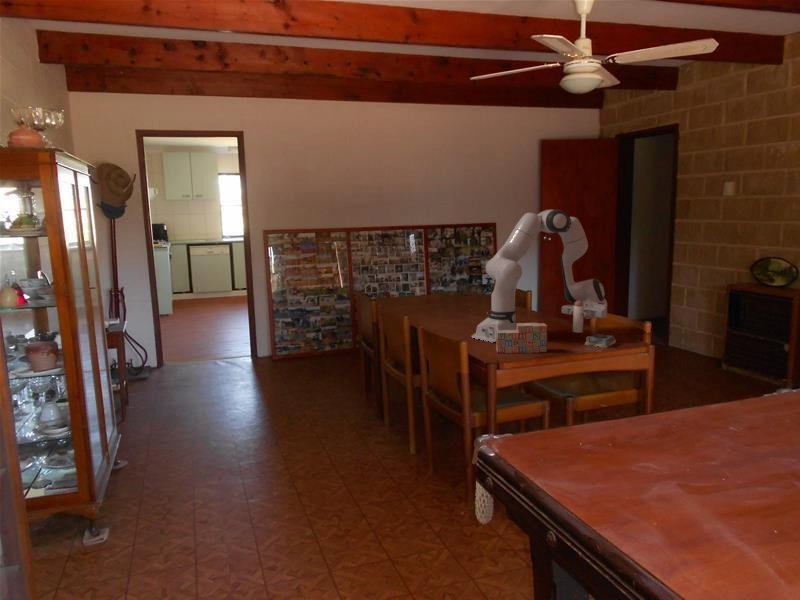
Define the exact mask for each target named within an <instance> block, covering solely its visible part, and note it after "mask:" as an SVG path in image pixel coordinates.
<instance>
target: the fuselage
mask: <svg viewBox="0 0 800 600" xmlns="http://www.w3.org/2000/svg"><path fill="white" fill-rule="evenodd" d="M582 302H583V301H576V302H575V304H573V305H574V312H573V317H572V332H573V333H583V331H584V318H583V316H582V313H583V312H584V306H583V303H582Z"/></svg>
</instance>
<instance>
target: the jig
mask: <svg viewBox="0 0 800 600" xmlns="http://www.w3.org/2000/svg"><path fill="white" fill-rule="evenodd" d="M585 340H586V341H585V342H584V345H585V346H589V345H593V346H592V347H597V346H599V347H598V348H604V349H605V348H606V349H607V348H609V347H611V346H613V345H614V344H616V343H617V340H616V339H615V336H614V335H607V334H601V333H600V334H599V333H595V334H593V335H591V336H586V339H585Z"/></svg>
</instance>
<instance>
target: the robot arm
mask: <svg viewBox="0 0 800 600" xmlns="http://www.w3.org/2000/svg"><path fill="white" fill-rule="evenodd" d="M540 232H541V233H548V234H554V233H556V234H558V235H559V236H560V238H561V242H562V246H563V252H562V253H561V255H560V267H561V274H562V280H563V287H564V289H563V291H564V297H565V299H566V300H567V302H568V303H571V304H565V305H562V306H561V313H562V314H565V315H571V316H572V315H573V312H574V304H575V302H576V301H582V303H583V306H584V312H583V313H582V316H583V319H587V320H590V319H607V314H608V301H607V300H606V290H605V287H604V284H603V283H602V282H601V281H600V280H599V279H598V278H590V279H586V280H581V281H578V282H575V280H574V275H573V267H572V266H573V264H574V262H576V261H577V260H578V259H580V258H581V257H583V256H584V255H585V254H586V252H587V250H588V249H589V248H588V247H589V243H588V238H587V236H586V232H585V230H584V228H583V226H582V224H581V222H580V220H579V219H578V218H577V217H575V216H569V215H568V214H567V213H566V212H565V211H563V210H561V209H552V208H551V209H545V210H541V211H539V212H538V213H534V212H526V213H524V215H522V217H521V218H519V221H518V222H517V223H516V224H515V226H514V228H513V230H511V232H510V235H509V237H508V238H507V240H506V241H505V243H504V244H503V245H502V246H501V248H500V249H499V250H498V251H497V252H496V254H495V255H493V257H492V258H491V259H489V260H488V261H487V262H486V264H485V271H486V274H487V275H488V276H489V278H491V279H492V280H495V284H494V289H493V291H492V293H491V304H490V305H491V309H490V310H488V311H487V312H486V315H487V317H486V318H485V319H484V320H482V321H481V322H480V323H478V325H477V326H476V329H475V330H476V331H475V333H473V334H472V335H471V337H472V338H471V339H473V338H475V339H474V340H478V339H480V340H479V341H483V340H484V342H488V341H489V342H488V343H493V342H496V330H516V326H517V325H516V321H517V319H516V318H517V314H516V313H517V312H516V292H517V286H518V283H519V281H520V279H521V277H522V275H523V269H522V266H521V265H520V264H519V263H518V262H519V261H520V260H521V259H522V258H524V256H526V255H527V253H528V251H529V249H530V248H531V246H532V245H533V244H534V242H535V239H536V238H537V236H538V234H539V233H540Z"/></svg>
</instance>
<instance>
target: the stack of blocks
mask: <svg viewBox="0 0 800 600" xmlns="http://www.w3.org/2000/svg"><path fill="white" fill-rule="evenodd" d="M515 326H516V330H496V343H495V344H496V345H495V350H496V353H498V352H499V353H498V354H536V353H537V354H539V353H538V352H547V350H548V348H547V343H548V325H547V324H546V323H544V322H542V323H541V322H539V323H538V322H525V323H521V322H518V323H516V325H515ZM547 353H548V352H547Z"/></svg>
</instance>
